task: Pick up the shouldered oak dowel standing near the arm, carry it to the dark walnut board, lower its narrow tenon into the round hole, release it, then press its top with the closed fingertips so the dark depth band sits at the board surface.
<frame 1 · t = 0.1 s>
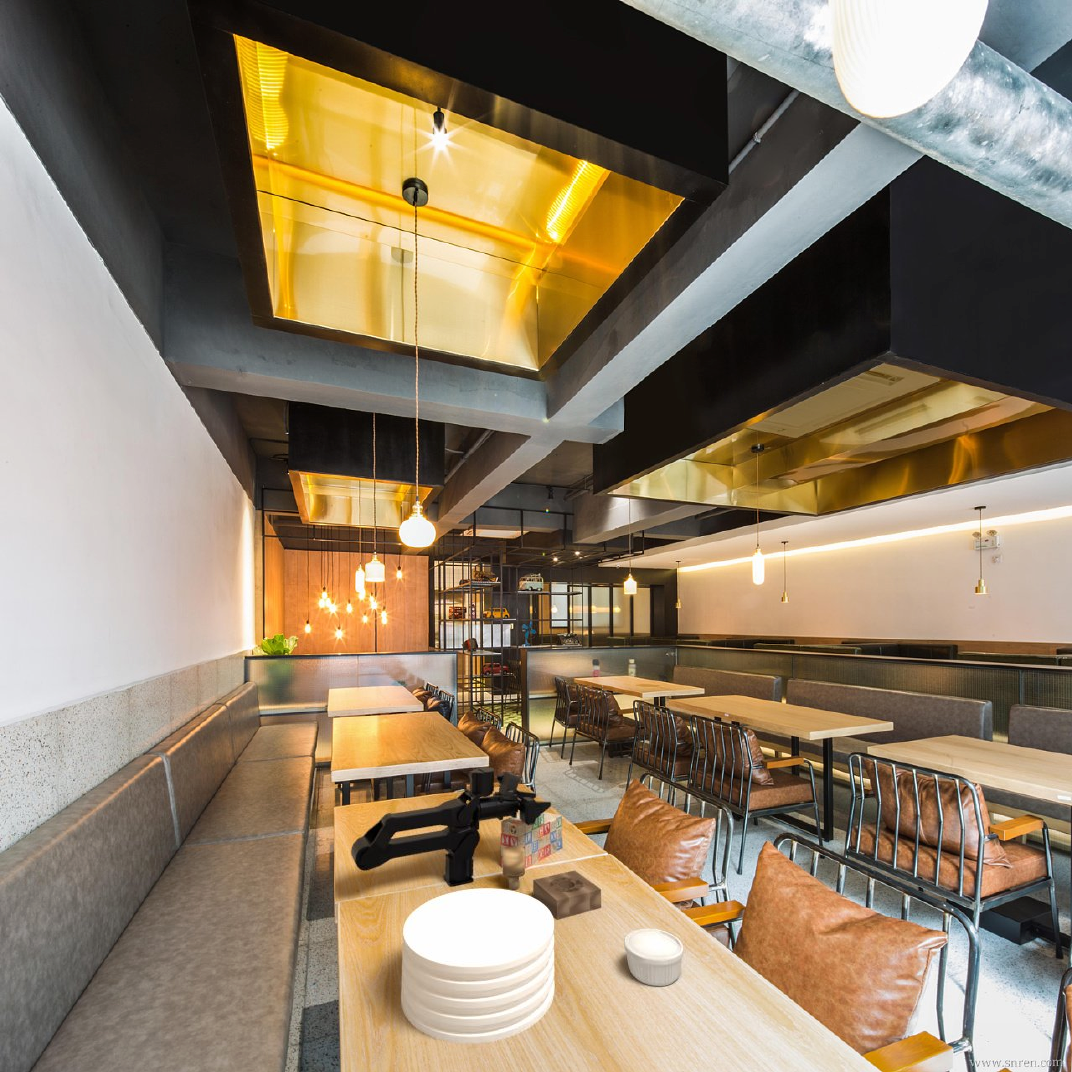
hand: (543, 799, 165), 17 cm above the table, tool horizontal, fingers open, 9 cm apart
peg: (513, 887, 147), on the table
ramekin: (654, 973, 111), on the table
board: (566, 902, 139), on the table
stack of blocks: (532, 858, 166), on the table
plate stack: (478, 990, 106), on the table
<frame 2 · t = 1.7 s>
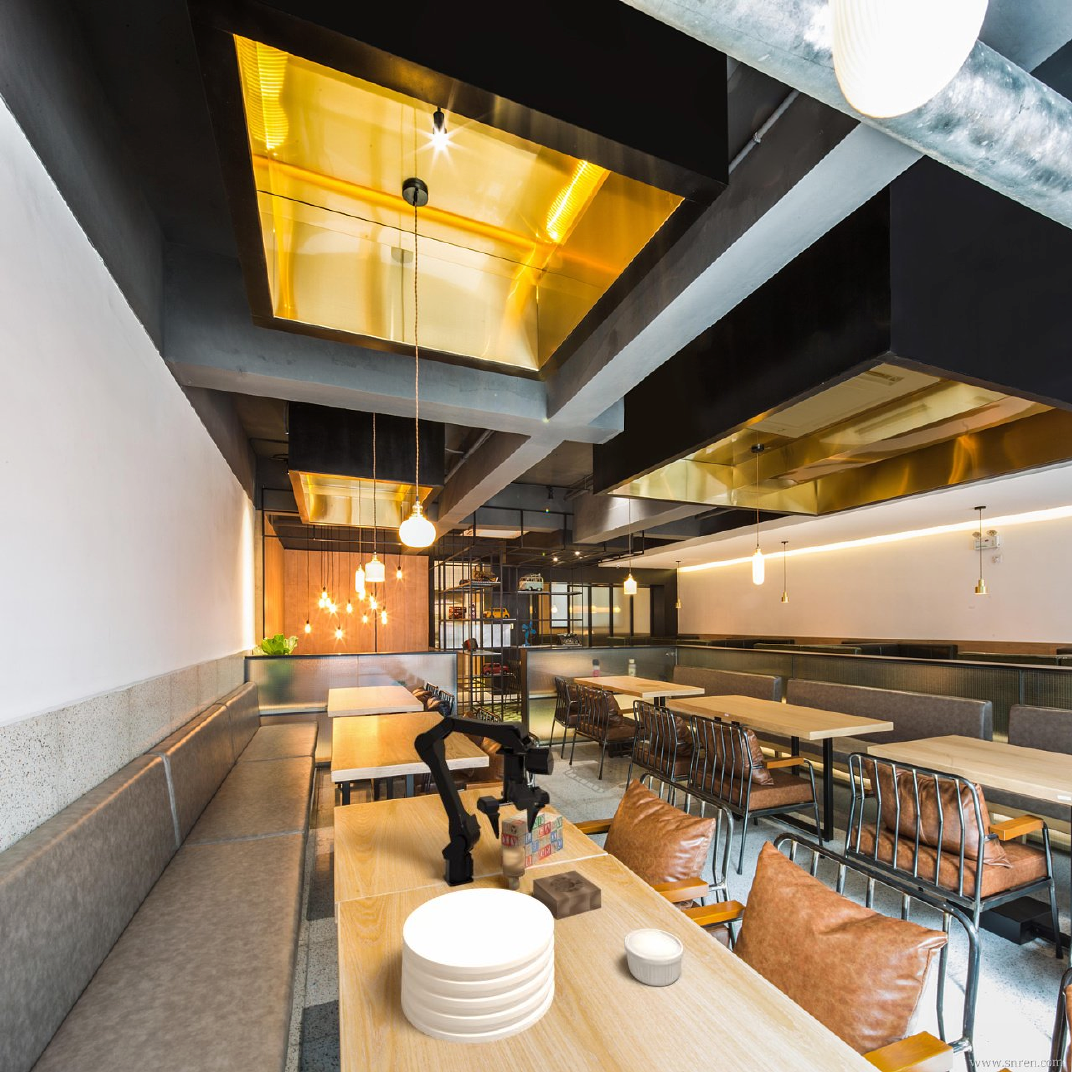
hand: (513, 835, 149), 12 cm above the table, tool pointing down, fingers open, 9 cm apart
nothing on the table moved.
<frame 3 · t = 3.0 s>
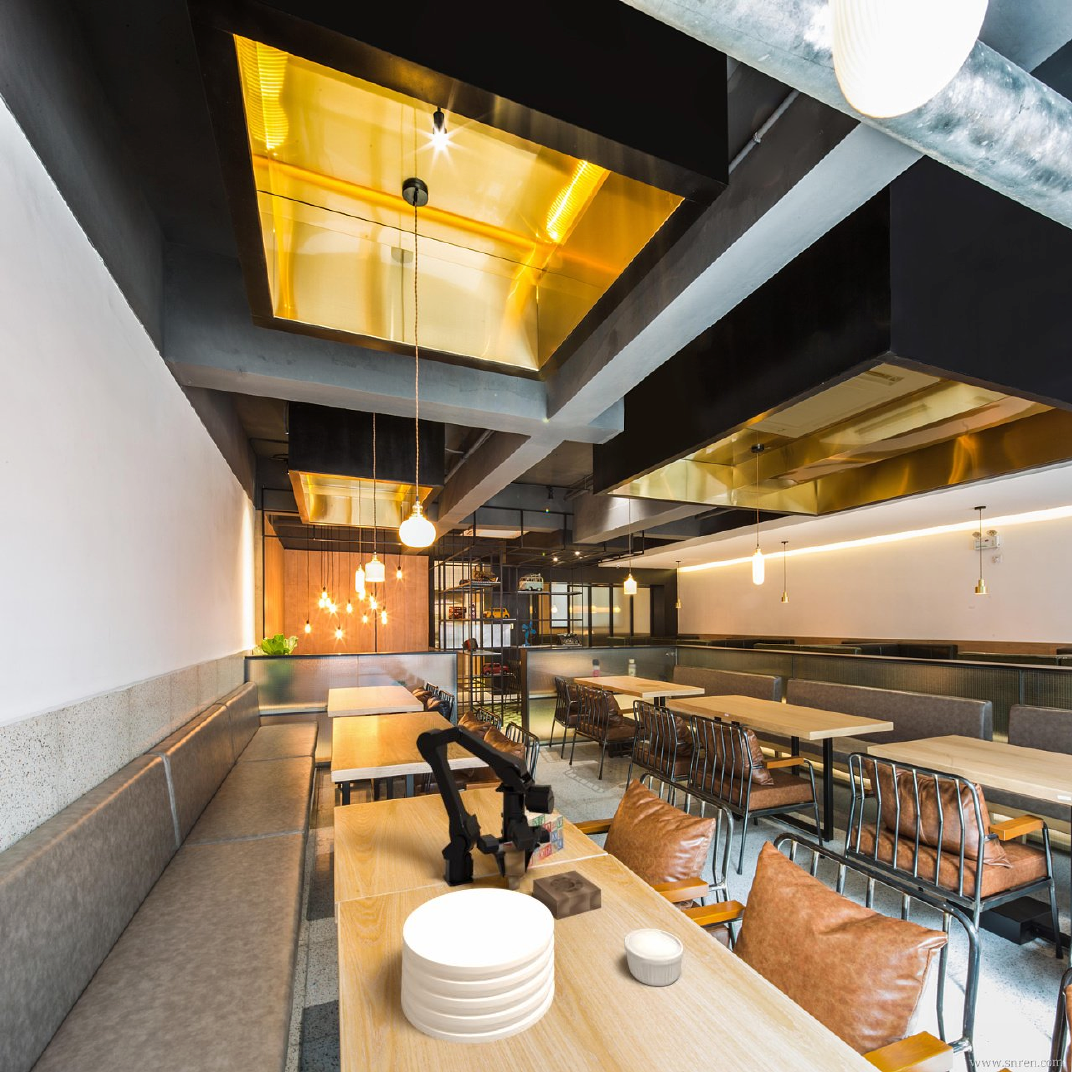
hand: (513, 874, 147), 3 cm above the table, tool pointing down, fingers closed on peg, 6 cm apart
peg: (513, 887, 147), on the table, touching gripper
everything else where it was.
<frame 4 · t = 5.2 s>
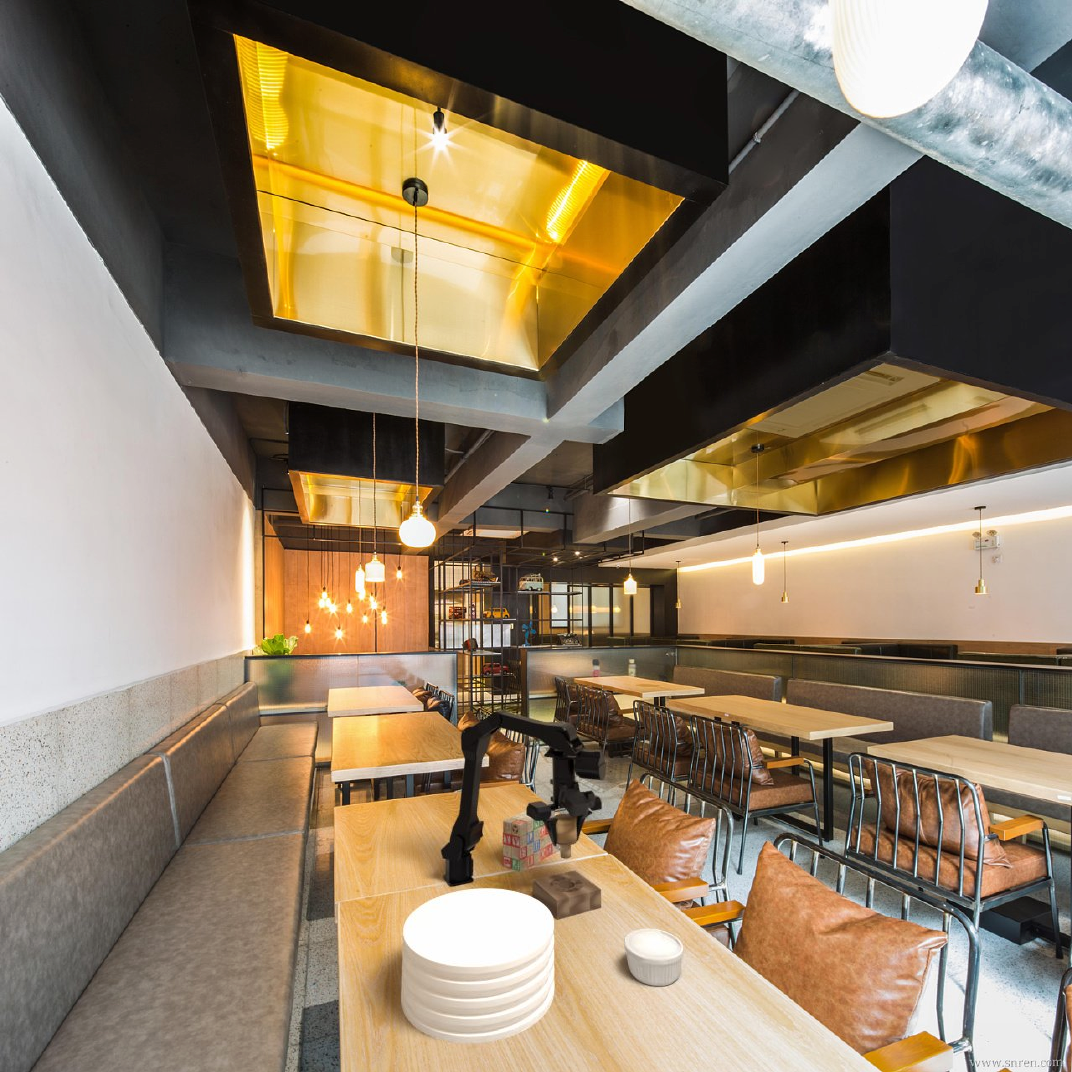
hand: (565, 843, 141), 13 cm above the table, tool pointing down, fingers closed on peg, 6 cm apart
peg: (565, 856, 140), point 10 cm above the table, touching gripper
everything else where it was.
when the fingers open (5 cm above the table, at t = 7.6 s): peg drops 1 cm, resting on board.
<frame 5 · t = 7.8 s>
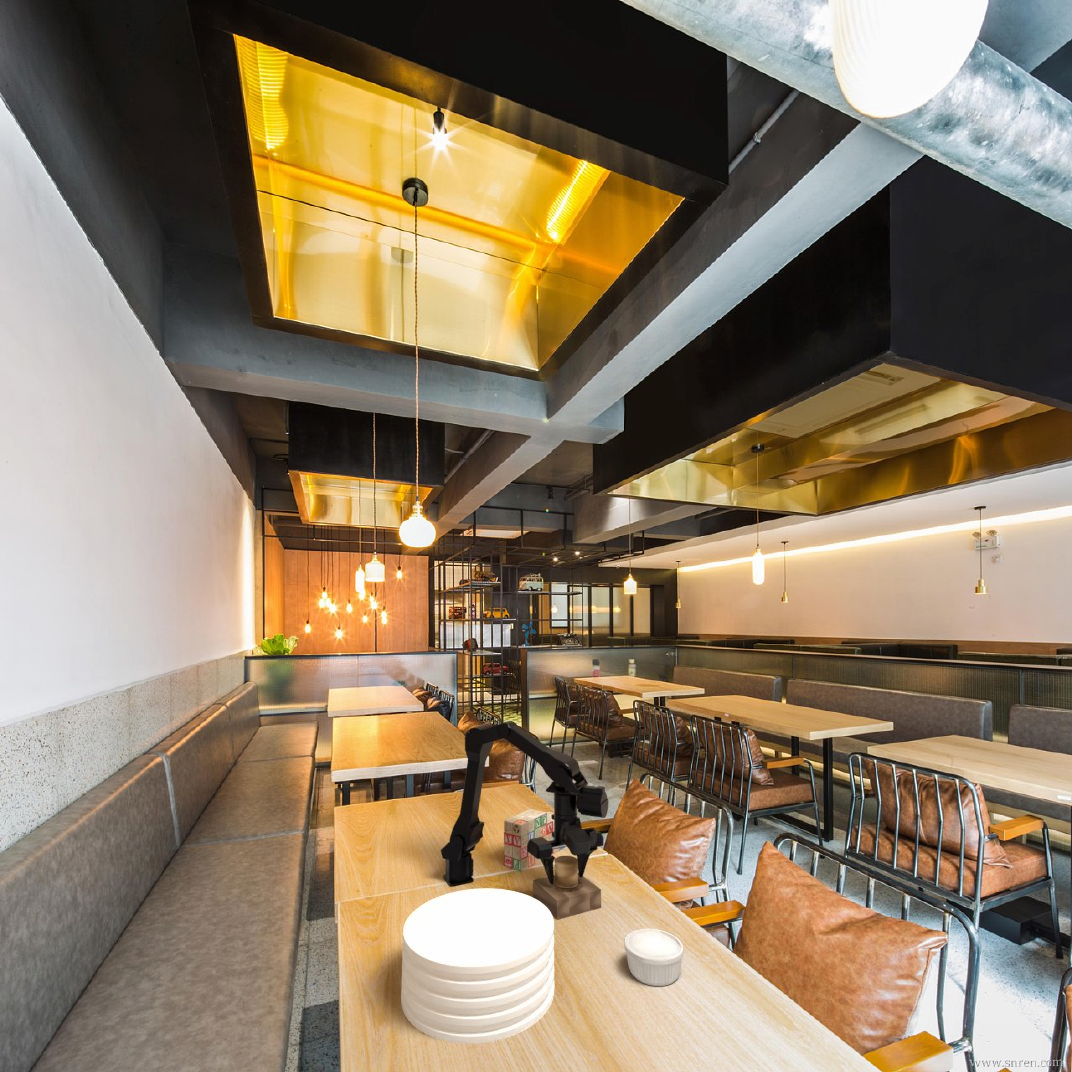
hand: (566, 880, 140), 5 cm above the table, tool pointing down, fingers open, 8 cm apart
peg: (566, 900, 139), resting on board
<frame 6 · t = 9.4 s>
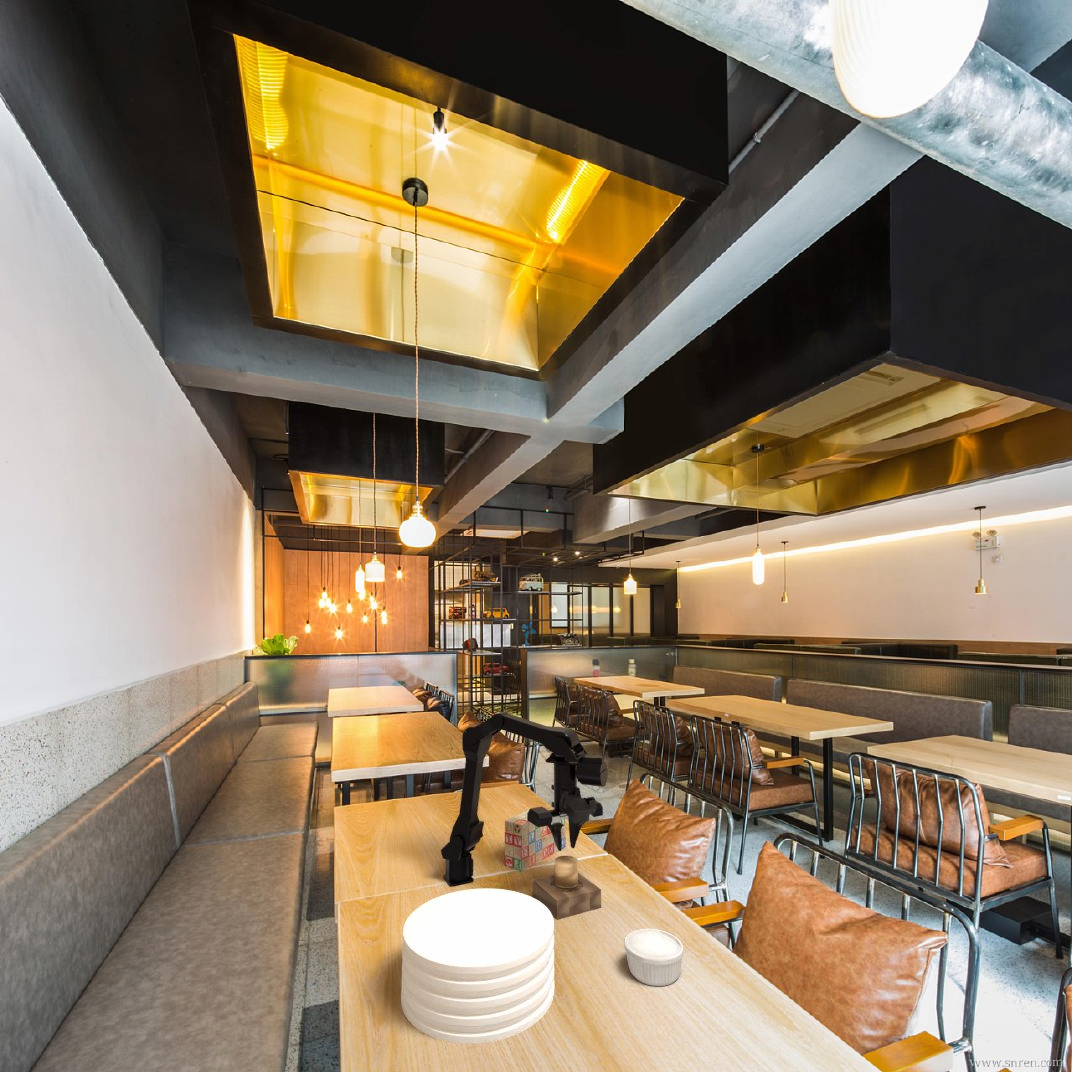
hand: (566, 849, 141), 12 cm above the table, tool pointing down, fingers open, 3 cm apart
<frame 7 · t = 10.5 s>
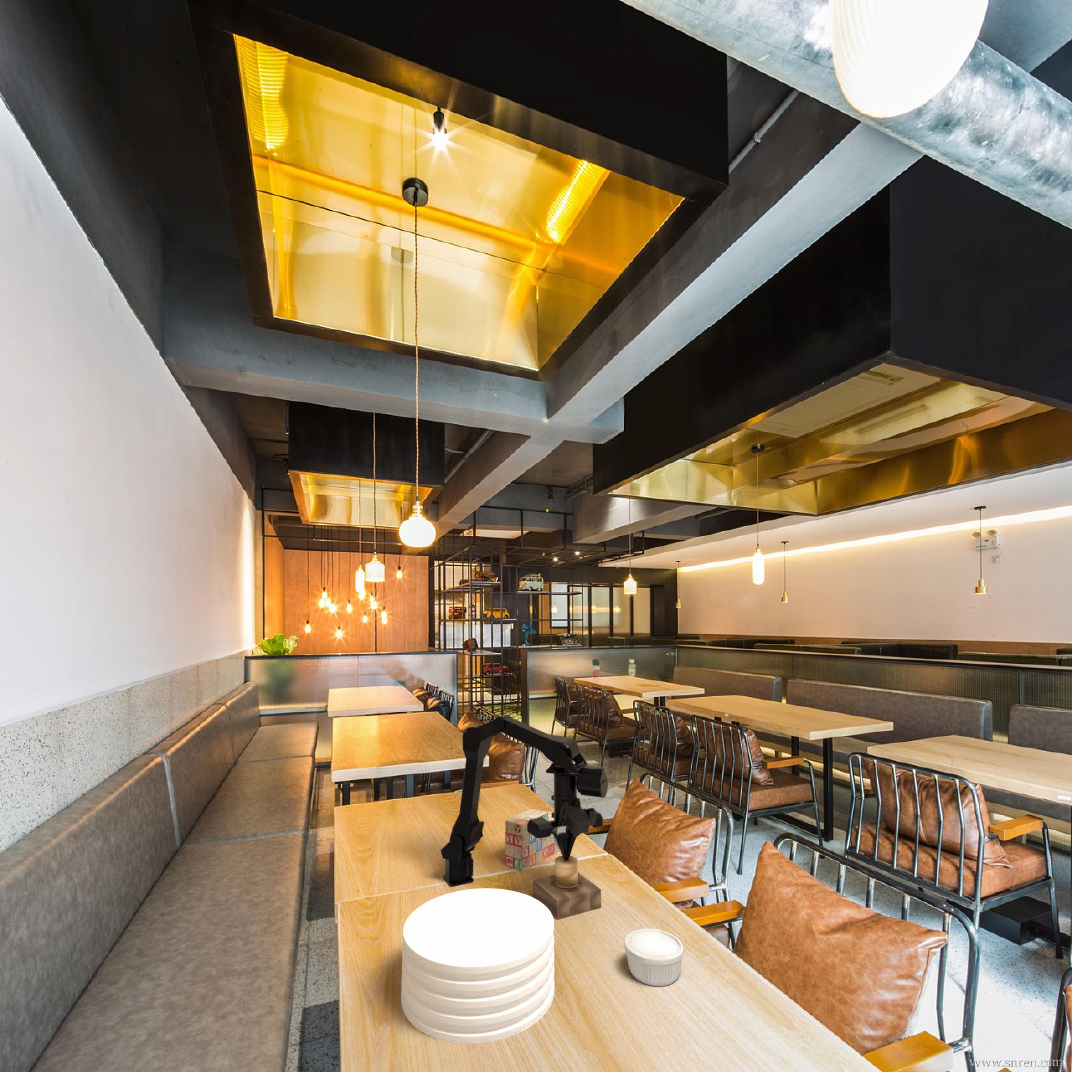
hand: (566, 860, 140), 9 cm above the table, tool pointing down, fingers closed, pressing on peg
peg: (566, 900, 139), resting on board, touching gripper
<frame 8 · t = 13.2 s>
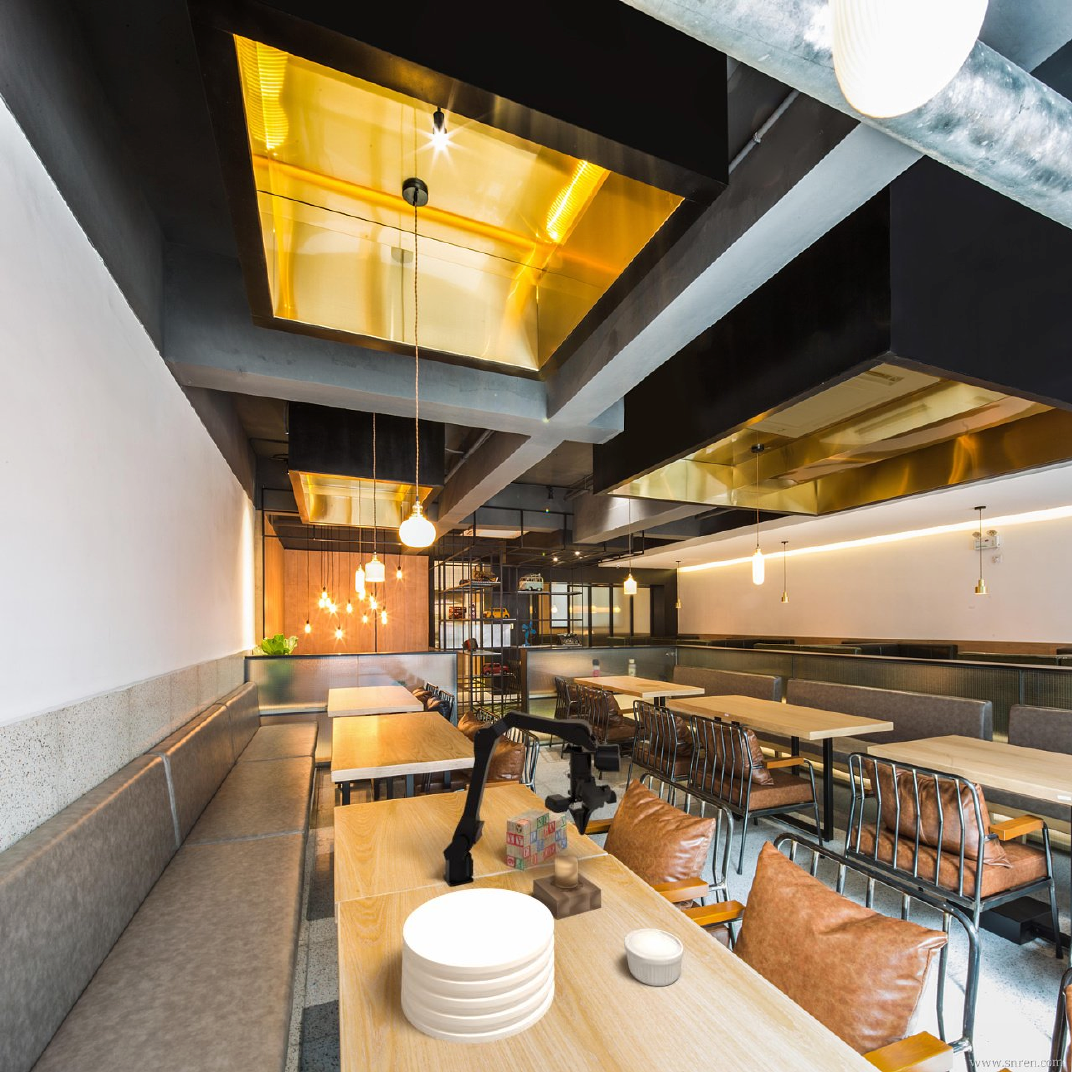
hand: (581, 834, 147), 13 cm above the table, tool pointing down, fingers closed
peg: (566, 900, 139), resting on board
at the end: peg 0.0 cm off-centre in the board, point 0.5 cm above the board's base; peg tilted 0°; the gripper is holding nothing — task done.
